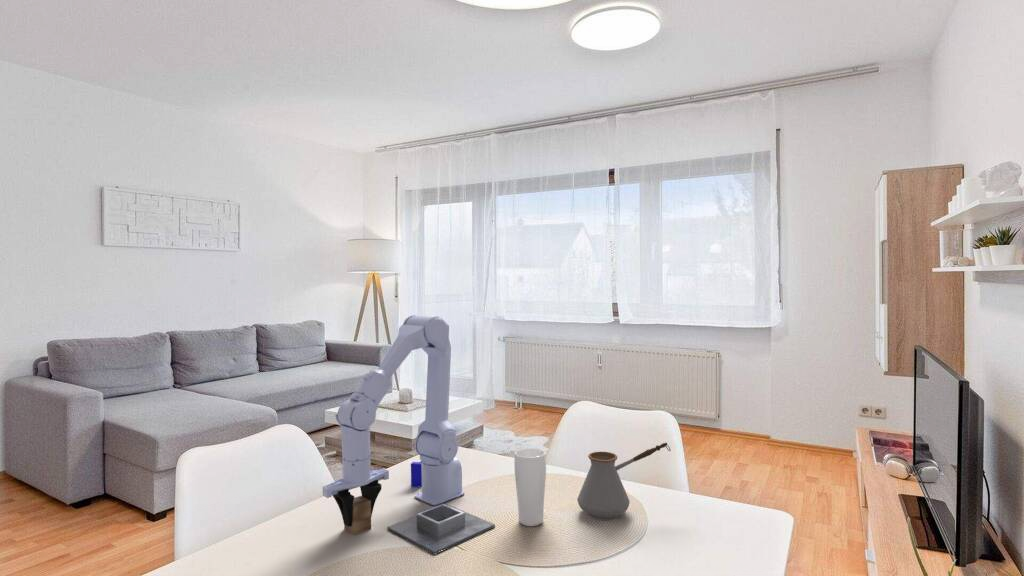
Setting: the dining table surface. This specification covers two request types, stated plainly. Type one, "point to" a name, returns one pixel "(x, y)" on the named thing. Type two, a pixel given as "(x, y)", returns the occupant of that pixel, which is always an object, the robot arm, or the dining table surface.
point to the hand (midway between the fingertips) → (357, 521)
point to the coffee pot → (607, 485)
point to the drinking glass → (530, 485)
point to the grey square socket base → (440, 528)
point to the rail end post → (360, 516)
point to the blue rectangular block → (416, 474)
